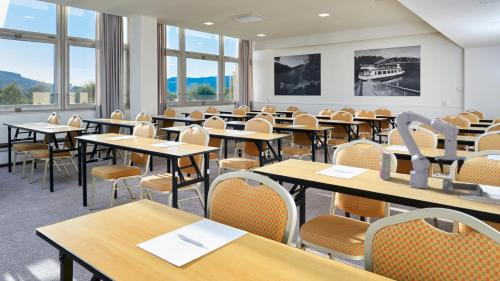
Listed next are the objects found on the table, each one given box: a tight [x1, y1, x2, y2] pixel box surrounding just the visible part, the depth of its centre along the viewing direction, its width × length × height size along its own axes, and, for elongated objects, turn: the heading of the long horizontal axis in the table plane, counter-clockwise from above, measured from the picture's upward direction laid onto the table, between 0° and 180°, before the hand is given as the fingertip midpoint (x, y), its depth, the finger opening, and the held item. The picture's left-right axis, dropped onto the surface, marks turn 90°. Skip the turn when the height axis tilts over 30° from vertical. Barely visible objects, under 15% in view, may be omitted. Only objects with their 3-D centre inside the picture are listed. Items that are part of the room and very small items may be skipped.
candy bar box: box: [379, 150, 392, 181], centre depth 232 cm, size 11×5×16 cm, turn 168°
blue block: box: [442, 178, 454, 194], centre depth 201 cm, size 4×7×6 cm, turn 158°
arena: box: [452, 182, 484, 197], centre depth 199 cm, size 13×12×3 cm
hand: (450, 173), depth 200 cm, fingers open, 7 cm apart
